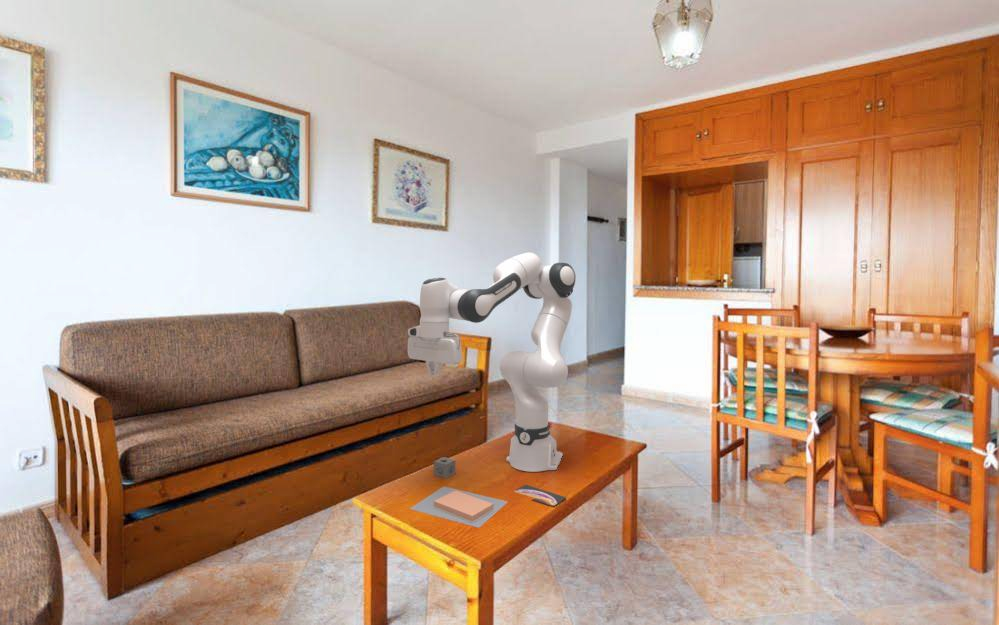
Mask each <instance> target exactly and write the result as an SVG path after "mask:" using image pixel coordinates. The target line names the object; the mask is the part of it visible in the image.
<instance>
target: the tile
mask: <svg viewBox="0 0 999 625" xmlns="http://www.w3.org/2000/svg"><path fill="white" fill-rule="evenodd" d="M434 508H437V509H439V510H442V511H444V512H447V513H449V514H452V515H454V516H457V517H459V518H462V519H464V520H467V521H469V522H472V523H473V522H474V521H476V520H478V519H479V518H481V517H483V516H484V515H486V514H488V513H490V512H491V511H493V504H492V503H490V502H487V501H484V500H481V499H478V498H475V497H473V496H470V495H467V494H464V493H461V492H459V491H456V490H455V491H453V492H451V493H449V494H447V495H445V496H443V497H441V498H439V499H437V500H435V501H434Z"/></svg>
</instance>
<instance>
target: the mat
mask: <svg viewBox="0 0 999 625" xmlns="http://www.w3.org/2000/svg"><path fill="white" fill-rule="evenodd" d="M455 490H456V491H459V492H461V493H464V494H467V495H470V496H473V497H475V498H478V499H481V500H484V501H487V502H490V503H492V504H493V511H491V512H490V513H488V514H486V515H484V516H483V517H481V518H479V519H478V520H476V521H474V522H473V523H472V522H469V521H467V520H464V519H462V518H459V517H457V516H454V515H452V514H449V513H447V512H444V511H442V510H439V509H437V508H434V501H435V500H437V499H439V498H441V497H443V496H445V495H447V494H449V493H451V492H453V491H455ZM507 503H508V501H507V500H503V499H498V498H494V497H490V496H486V495H482V494H477V493H473V492H468V491H465V490H460V489H456V488H454V487H453V488H452V487H448V486H444V485H443V486H442V487H441V488H439V489H437V490H436V491H435V492H432V494H429V495H428V496H427V497H425V498H424V499H422V500H421V501H419V502H417V503H416V504H415V505H412V507H410V508H409V510H412V511H415V512H416V511H417V512H419V513H424V514H427V515H431V516H433V517H438V518H442V519H446V520H447V521H452V522H456V523H460V524H463V525H467V526H470V527H475V528H481V527H482V526H483V525H484V524H485V523H486V522H487V521H488V520H489V519H491V518H492V517H493V516H494V515H495V514H496V513H498V511H500V510H501V509H502V508H503V507H504V506H505V505H506V504H507Z"/></svg>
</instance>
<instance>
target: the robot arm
mask: <svg viewBox="0 0 999 625" xmlns="http://www.w3.org/2000/svg"><path fill="white" fill-rule="evenodd" d="M492 279H493V282H494V283H492V284H490V286H488V287H486V288H477V289H476V288H474V289H473V288H471V289H468V288H467V289H466V288H464V289H463V288H459V287H458V286H456V285H454V284H452V283H451V282H450V281H449V280H448V279H447V278H445V277H436V278H435V277H434V278H428V279H426V280H423V282H422V284H421V288H420V294H419V295H420V296H419V309H420V314H421V315H420V319H419V325H416V326H413V327H411V328H408V330H407V335H408V336H409V337H408V339H407V356H408V358H409V359H411V360H412V359H413V360H419V361H424V362H425V365H426V368H427V370H428V376H430V377H435V378H436V377H440V371H441V369H442V367H443V364H445V365H452V366H457V365H460V364H461V363H462V362H463V350H462V349H463V348H462V344H461V337H460V336H459V335H458V334H457V333H454V332H453V333H452V332H450V319H453V320H460V321H467V322H470V323H475V324H476V323H477V324H478V323H481V322H482V323H483V321H485V320H486V319H487V318H488V317H489V316H490V314H491V313H492V312H493V311H494V309H495V308H496V307H498V306H499V305H501V304H502V303H504V302H505V301H506V300H507V299H510V297H512V296H513V295H514V294H516V293H517V292H518V291H519V290H522V289H523V291H524V293H525V294H526V296H527V297H528V298H531V299H535V300H537V299H542V300H543V301H542V308H541V310H539V313H538V315H537V318H536V320H535V322H534V324H533V327H532V330H531V332H530V337H531V339H532V342H533V343H534V344H535V345H536V346H537V348H536V351H535V352H528V351H521V350H516V351H508V352H506V353H504V354H503V356H502V358H501V359H500V362H499V371H500V374H501V376H502V377H503V378H504V379H505V380H506V382H507V383H508V384H509V386H510V387H509V388H510V389H511V391H512V394H513V397H514V402H515V423H514V428H513V430H514V432H513V433H514V436H512V437H511V439H510V447H509V448H510V449H509V455H508V456H506V459H505V460H506V462H508V463H509V465H510V466H511V467H512V468H514V469H516V470H519V471H523V472H530V473H533V472H534V473H536V472H537V473H539V472H545V471H556V470H557V469H558V468H559V466H558V465H560V463H561V461H562V459H563V457H562V456H563V455H564V454H563V452H561V451H558V450H557V448H558V447H557V446H558V445H557V440H556V439H555V438H554V437H553V436H552V435H551V430H550V429H551V428H552V426H553V424H552V422H551V421H549V404H548V403H549V402H548V401H547V399H546V398H545V397H544V396H543V395H542V394H541V393H540V391H539V390H538V387H540V388H560V387H562V386H563V384H565V382H566V381H567V378H568V376H569V375H568V374H569V368H568V365H567V363H566V361H565V360H564V359H563V357H562V354H561V346H562V345H561V344H562V342H563V338H564V337H565V333H566V330H567V328H568V325H569V322H570V320H571V314H572V309H573V302H572V301H571V299H570V298H569V297H570V296H571V295H572V294H573V292H574V287H575V284H576V272H575V270H574V268H573V266H572V265H571V264H569V263H567V262H556V263H552V264H548V265H543V263H542V260H541V258H540V257H539V256H538V255H537V254H536V253H534V252H523V253H519V254H517V255H514V256H512V257H510V258H508V259H505V260H504V261H502V262H500V263H499V264H498V265H497V266H496V267H495V268H494V270H493V273H492ZM561 458H562V459H561ZM557 467H558V468H557Z"/></svg>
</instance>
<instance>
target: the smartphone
mask: <svg viewBox="0 0 999 625" xmlns="http://www.w3.org/2000/svg"><path fill="white" fill-rule="evenodd" d="M513 492H514V493H517V494H520V495H524V496H527V497H530V498H533V499H531V501H532V502H535V503H538V504H540V505H544V506H546V507H550V506H551V507H550V508H556V507H558V506H559V505H560V504H562V503H564V502H565V501H566V500H567V497H565V496H563V495H561V494H556V493H555V492H550V491H547V490H545V489H542V488H537V487H534V486H532V485H528V484H523V485H522V486H520V487H518V488H517V489H515V490H514V491H513ZM565 499H566V500H565ZM564 500H565V501H564ZM561 502H562V503H561ZM558 504H559V505H558ZM557 505H558V506H557ZM555 506H556V507H555Z"/></svg>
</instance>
